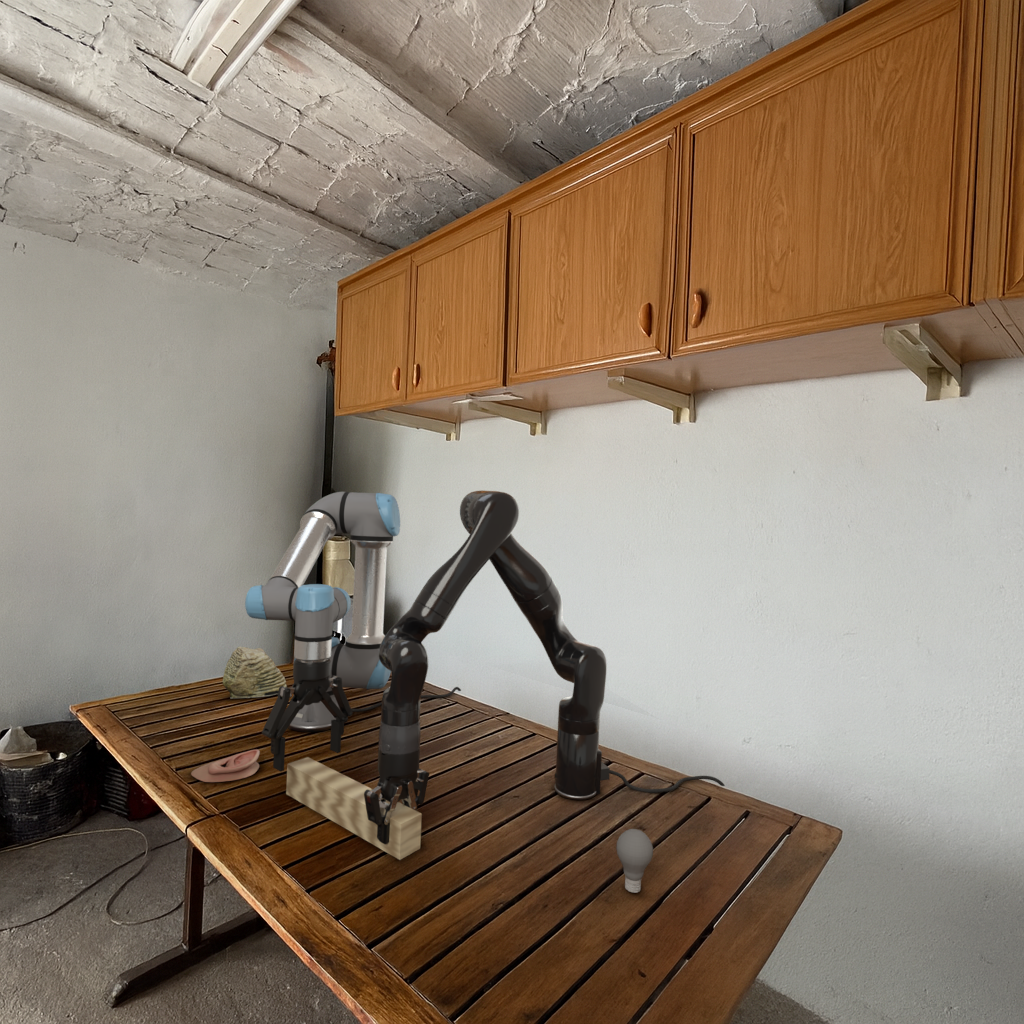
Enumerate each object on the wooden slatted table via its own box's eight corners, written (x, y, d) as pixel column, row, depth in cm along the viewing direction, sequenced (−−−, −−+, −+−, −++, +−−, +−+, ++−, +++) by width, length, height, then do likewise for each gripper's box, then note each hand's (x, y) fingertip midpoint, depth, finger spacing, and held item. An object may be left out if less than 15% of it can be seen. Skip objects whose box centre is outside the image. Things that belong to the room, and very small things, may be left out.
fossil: (218, 695, 195) (220, 647, 195) (278, 685, 208) (279, 640, 207) (228, 703, 189) (230, 653, 188) (289, 692, 201) (290, 645, 201)
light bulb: (610, 879, 108) (613, 822, 108) (644, 879, 109) (647, 822, 109) (619, 902, 102) (622, 840, 102) (655, 901, 103) (658, 840, 103)
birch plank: (286, 794, 134) (287, 763, 134) (306, 786, 138) (307, 756, 138) (399, 860, 112) (401, 823, 112) (420, 848, 116) (421, 813, 116)
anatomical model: (182, 760, 139) (216, 741, 150) (181, 778, 139) (216, 758, 150) (236, 768, 136) (267, 748, 147) (235, 786, 136) (266, 765, 147)
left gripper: (350, 647, 145) (346, 739, 145) (246, 665, 126) (242, 771, 126) (371, 653, 141) (366, 748, 141) (267, 672, 121) (262, 783, 121)
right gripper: (414, 729, 124) (411, 815, 124) (354, 749, 113) (350, 844, 113) (441, 739, 119) (438, 828, 119) (382, 761, 108) (378, 860, 108)
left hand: (308, 759), depth 133 cm, fingers open, 13 cm apart
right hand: (395, 835), depth 116 cm, fingers closed on birch plank, 5 cm apart
